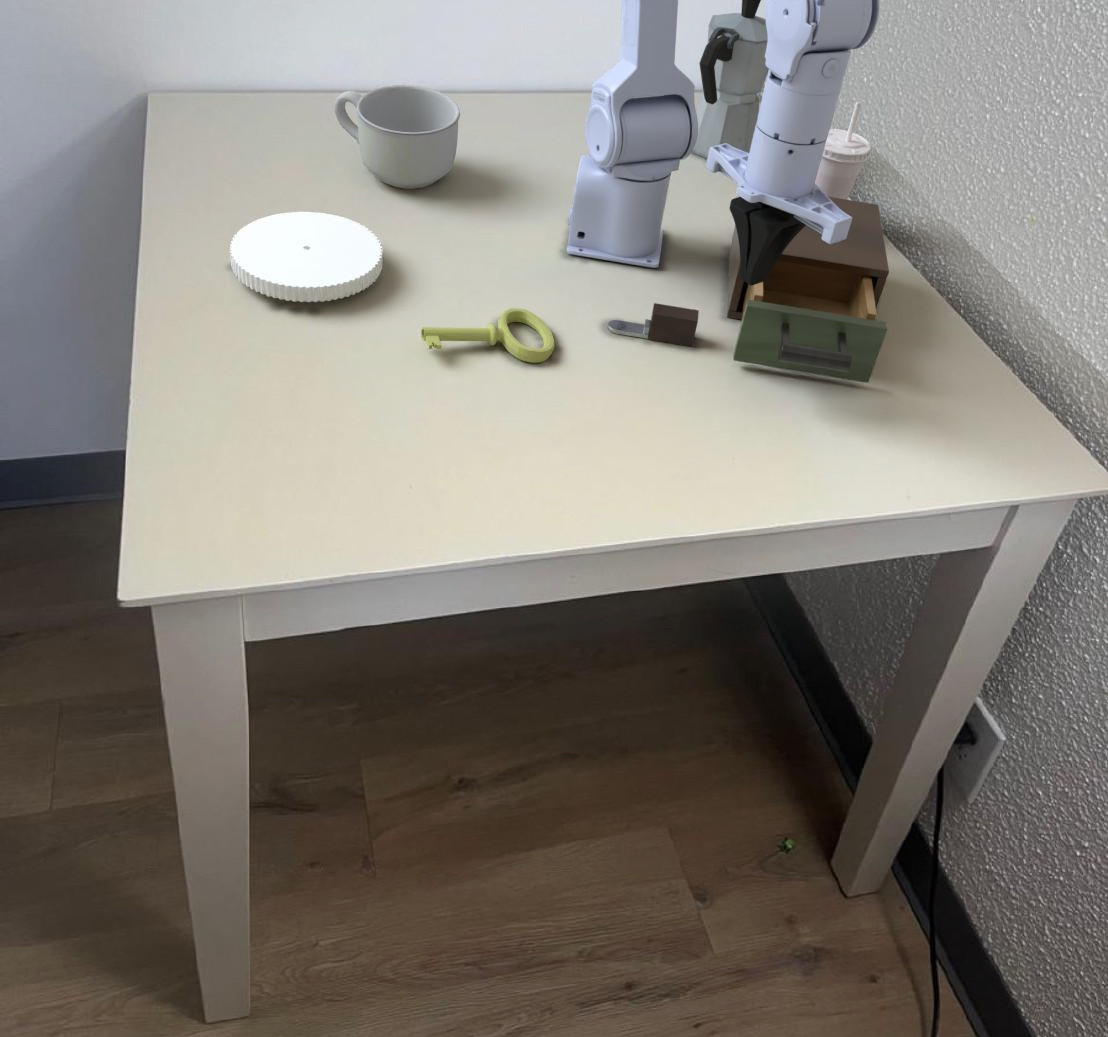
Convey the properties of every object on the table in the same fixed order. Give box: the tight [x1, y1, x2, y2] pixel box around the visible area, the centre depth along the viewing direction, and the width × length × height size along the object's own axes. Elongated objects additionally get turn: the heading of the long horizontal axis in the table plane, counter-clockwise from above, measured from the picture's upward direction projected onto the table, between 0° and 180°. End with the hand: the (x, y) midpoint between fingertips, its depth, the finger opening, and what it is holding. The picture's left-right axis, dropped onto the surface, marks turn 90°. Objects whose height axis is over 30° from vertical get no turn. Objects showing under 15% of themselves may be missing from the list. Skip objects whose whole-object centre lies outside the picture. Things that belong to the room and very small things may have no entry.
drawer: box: [732, 261, 888, 383], centre depth 107 cm, size 18×12×6 cm
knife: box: [607, 302, 700, 348], centre depth 109 cm, size 8×2×3 cm, turn 83°
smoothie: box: [815, 100, 872, 200], centre depth 125 cm, size 6×6×14 cm
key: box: [420, 307, 556, 364], centre depth 104 cm, size 7×12×2 cm, turn 126°
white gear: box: [229, 210, 383, 303], centre depth 110 cm, size 14×14×2 cm
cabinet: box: [726, 197, 890, 321], centre depth 116 cm, size 14×14×8 cm
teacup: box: [333, 84, 461, 190], centre depth 126 cm, size 14×11×8 cm
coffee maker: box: [691, 0, 769, 160], centre depth 135 cm, size 15×9×18 cm, turn 144°
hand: (753, 279), depth 102 cm, fingers closed
